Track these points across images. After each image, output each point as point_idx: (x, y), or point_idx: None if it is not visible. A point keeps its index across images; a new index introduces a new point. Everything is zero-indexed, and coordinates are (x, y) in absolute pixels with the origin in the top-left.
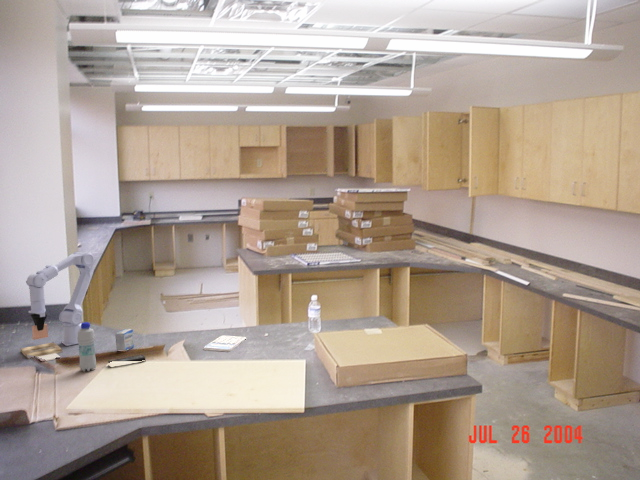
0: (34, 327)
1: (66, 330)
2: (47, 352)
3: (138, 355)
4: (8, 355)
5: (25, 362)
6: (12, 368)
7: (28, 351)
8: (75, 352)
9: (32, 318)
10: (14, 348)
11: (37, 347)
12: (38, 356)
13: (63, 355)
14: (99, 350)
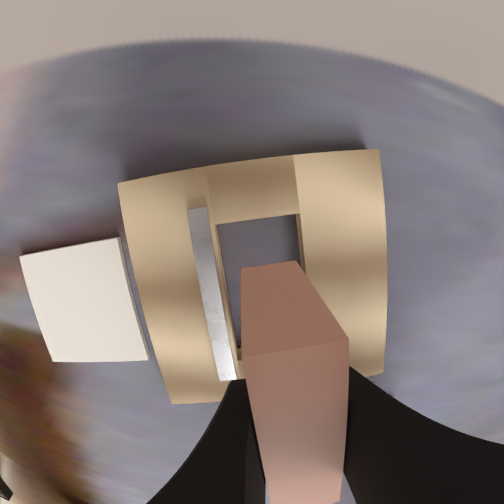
0: (248, 372)
1: (341, 495)
2: (148, 319)
3: (2, 494)
4: (319, 63)
5: (61, 163)
6: (6, 101)
7: (244, 192)
8: (135, 433)
9: (496, 449)
10: (462, 135)
11: (325, 270)
12: (117, 252)
13: (102, 381)
14: (126, 489)
